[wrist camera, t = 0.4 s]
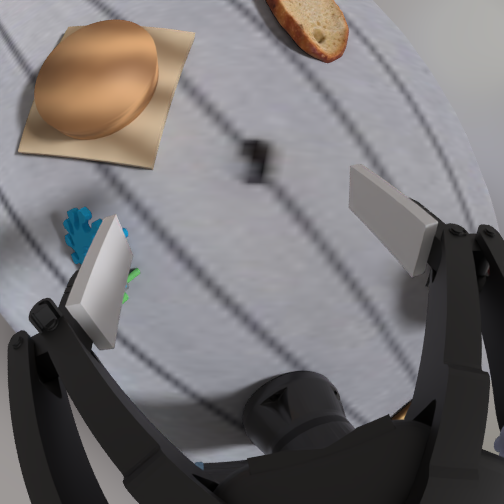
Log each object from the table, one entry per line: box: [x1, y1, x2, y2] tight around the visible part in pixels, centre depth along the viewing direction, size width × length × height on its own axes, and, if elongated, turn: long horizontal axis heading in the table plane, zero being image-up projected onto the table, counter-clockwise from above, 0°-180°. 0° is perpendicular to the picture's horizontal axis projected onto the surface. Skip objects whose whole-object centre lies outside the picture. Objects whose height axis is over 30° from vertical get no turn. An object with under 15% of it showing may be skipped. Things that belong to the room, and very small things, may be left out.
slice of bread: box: [266, 0, 349, 63], centre depth 27 cm, size 18×18×4 cm
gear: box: [63, 207, 140, 304], centre depth 26 cm, size 11×6×10 cm
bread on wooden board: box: [18, 20, 195, 170], centre depth 23 cm, size 18×18×6 cm
